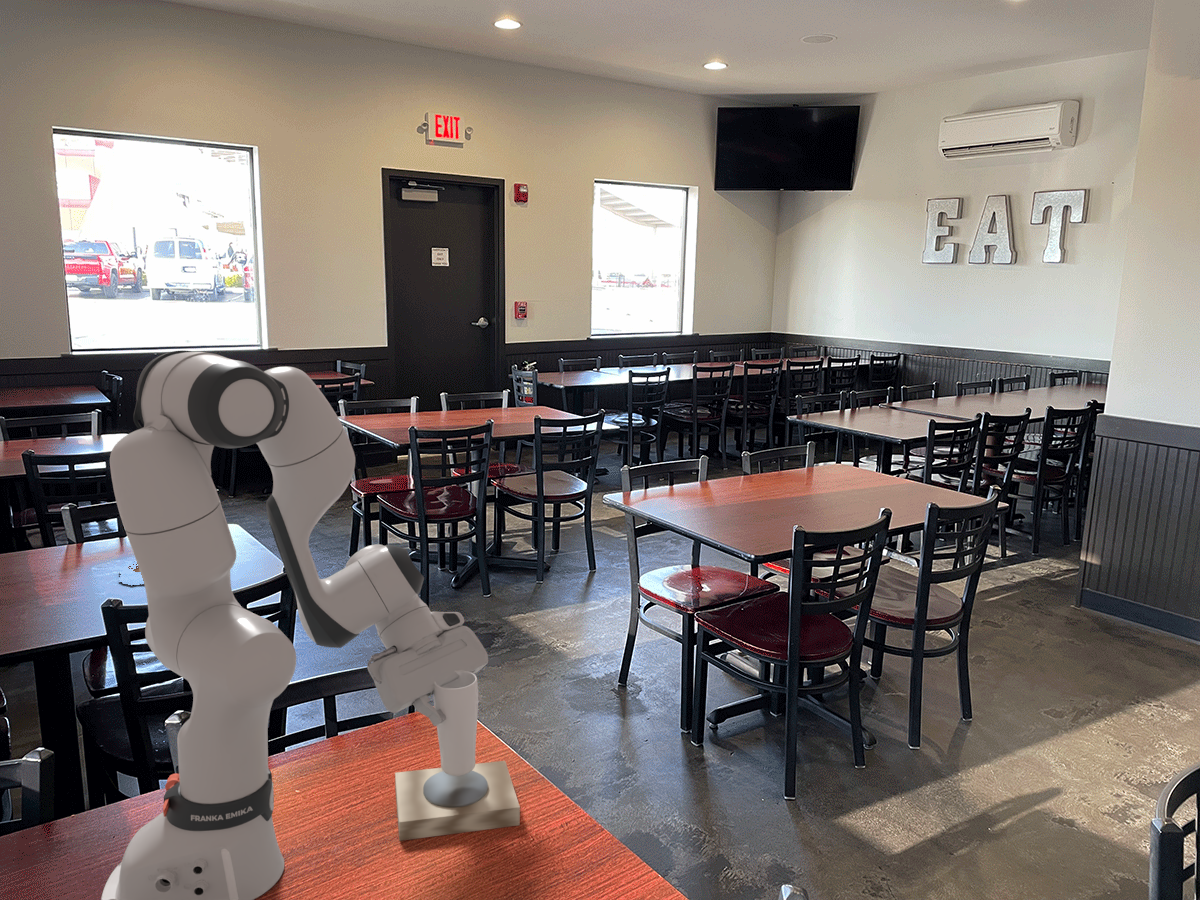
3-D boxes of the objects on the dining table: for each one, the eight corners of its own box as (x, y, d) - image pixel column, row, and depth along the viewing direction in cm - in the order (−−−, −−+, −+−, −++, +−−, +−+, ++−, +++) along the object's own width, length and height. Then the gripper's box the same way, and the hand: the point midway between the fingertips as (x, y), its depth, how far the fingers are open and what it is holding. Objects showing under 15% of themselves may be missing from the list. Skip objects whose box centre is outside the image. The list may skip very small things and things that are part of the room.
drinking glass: (472, 782, 134) (469, 691, 131) (429, 777, 135) (426, 687, 133) (485, 759, 141) (483, 671, 138) (445, 755, 142) (442, 668, 139)
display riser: (399, 840, 130) (399, 818, 129) (395, 789, 143) (395, 769, 143) (519, 825, 135) (520, 803, 134) (504, 777, 148) (505, 757, 147)
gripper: (372, 648, 129) (420, 730, 126) (467, 609, 146) (512, 680, 143) (352, 669, 133) (399, 749, 129) (447, 628, 149) (491, 698, 146)
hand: (459, 712), depth 136 cm, fingers closed on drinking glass, 7 cm apart
